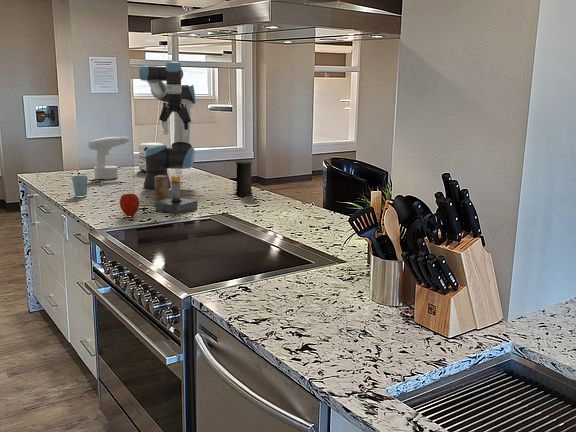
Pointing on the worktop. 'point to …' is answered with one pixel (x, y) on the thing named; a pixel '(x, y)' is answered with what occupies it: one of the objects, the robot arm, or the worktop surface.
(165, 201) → the holder plate
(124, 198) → the apple
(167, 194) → the square bit
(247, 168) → the container
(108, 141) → the power drill
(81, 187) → the cup
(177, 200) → the round bit
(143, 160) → the milk container
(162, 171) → the robot arm
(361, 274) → the worktop surface
